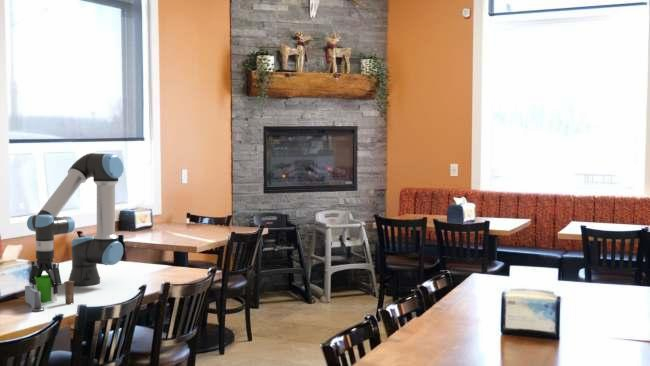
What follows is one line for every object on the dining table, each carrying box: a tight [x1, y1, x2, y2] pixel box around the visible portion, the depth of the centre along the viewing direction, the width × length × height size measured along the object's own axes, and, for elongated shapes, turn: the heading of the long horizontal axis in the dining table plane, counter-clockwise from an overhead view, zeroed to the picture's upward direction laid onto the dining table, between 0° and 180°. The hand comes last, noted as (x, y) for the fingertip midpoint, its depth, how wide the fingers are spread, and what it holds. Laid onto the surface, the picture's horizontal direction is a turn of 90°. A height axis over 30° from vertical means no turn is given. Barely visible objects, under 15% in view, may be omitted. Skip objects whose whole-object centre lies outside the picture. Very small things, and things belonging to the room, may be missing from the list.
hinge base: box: [30, 307, 45, 313], centre depth 326 cm, size 5×5×1 cm
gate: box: [24, 285, 42, 309], centre depth 331 cm, size 17×2×7 cm, turn 36°
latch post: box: [63, 280, 75, 305], centre depth 339 cm, size 3×3×10 cm
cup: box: [34, 274, 52, 303], centre depth 343 cm, size 9×9×11 cm
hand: (45, 299), depth 343 cm, fingers closed on cup, 9 cm apart
